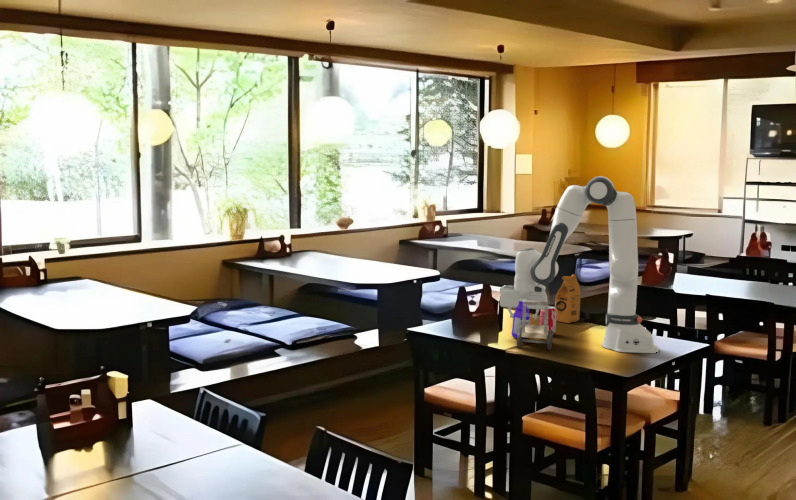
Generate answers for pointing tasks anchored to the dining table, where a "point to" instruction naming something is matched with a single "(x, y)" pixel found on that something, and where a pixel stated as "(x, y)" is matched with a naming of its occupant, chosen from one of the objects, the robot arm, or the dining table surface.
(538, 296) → the robot arm
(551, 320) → the soda can
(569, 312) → the coffee package
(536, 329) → the trolley
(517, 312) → the bottle
